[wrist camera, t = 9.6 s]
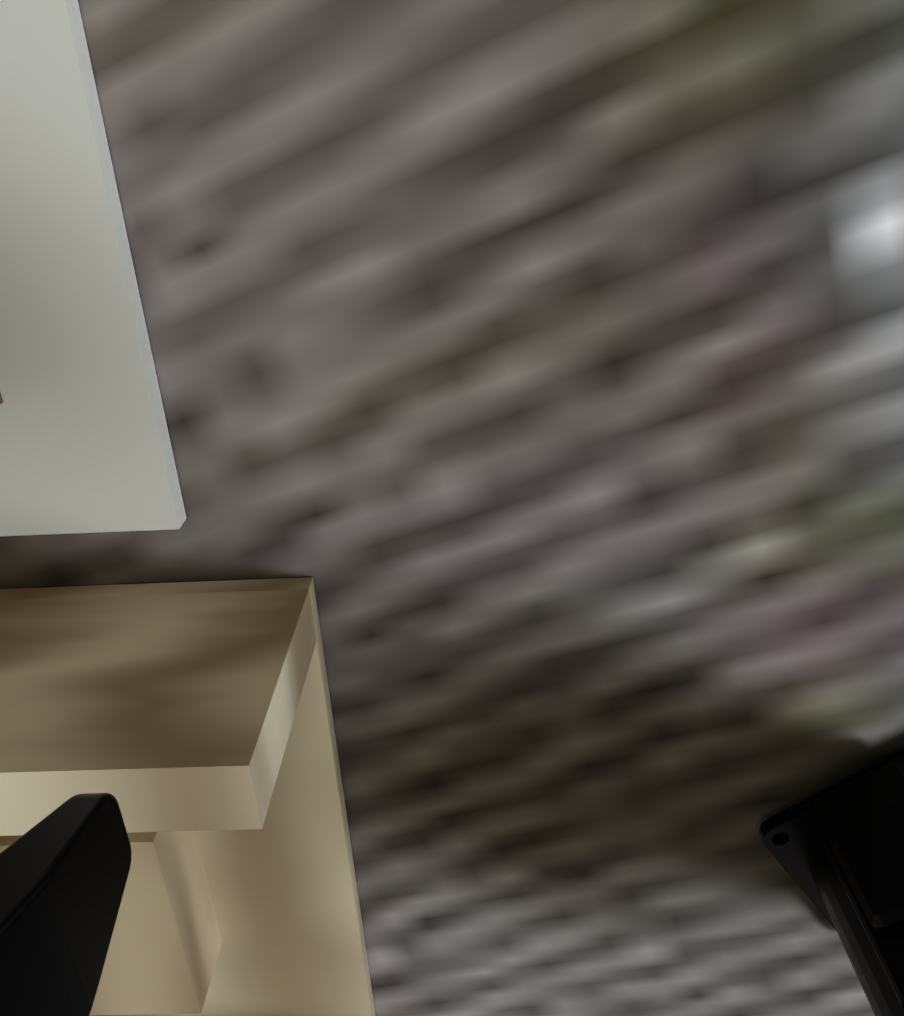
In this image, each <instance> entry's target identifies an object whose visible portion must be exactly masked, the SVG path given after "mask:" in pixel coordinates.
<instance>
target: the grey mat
mask: <svg viewBox="0 0 904 1016" xmlns="http://www.w3.org/2000/svg"><path fill="white" fill-rule="evenodd" d="M0 392H1V396H2V399H3V403H2V404H0V536H22V535H47V534H71V533H96V532H121V531H146V530H171V529H180V527H181V526H182V524H183V523H184V522H185V520H186V519H187V518H186V514H185V509H184V504H183V499H182V495H181V490H180V485H179V480H178V475H177V471H176V466H175V461H174V456H173V452H172V447H171V442H170V437H169V433H168V428H167V423H166V418H165V414H164V409H163V404H162V399H161V395H160V390H159V385H158V380H157V376H156V371H155V366H154V361H153V357H152V352H151V347H150V342H149V338H148V333H147V328H146V323H145V318H144V314H143V309H142V304H141V299H140V295H139V290H138V285H137V280H136V276H135V271H134V266H133V261H132V257H131V252H130V247H129V242H128V238H127V233H126V228H125V223H124V219H123V214H122V209H121V204H120V200H119V195H118V190H117V185H116V180H115V176H114V171H113V166H112V161H111V157H110V152H109V147H108V142H107V138H106V133H105V128H104V123H103V119H102V114H101V109H100V104H99V100H98V95H97V90H96V85H95V81H94V76H93V71H92V66H91V62H90V57H89V52H88V47H87V43H86V38H85V33H84V28H83V23H82V19H81V14H80V9H79V4H78V0H0Z"/></svg>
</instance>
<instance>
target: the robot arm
mask: <svg viewBox="0 0 904 1016" xmlns="http://www.w3.org/2000/svg"><path fill="white" fill-rule="evenodd" d="M759 832H760V834H761V837H762V839H763V842H764V844H765V846H766V847H767V848H768V850H769V851H770V852H771V853H772V854H773V856H774V857H775V858H776V859H777V860H778V862H779V863H780V864H781V865H782V866H783V867H784V869H785V870H786V871H787V872H788V873H789V875H790V876H791V877H792V878H793V879H794V881H795V882H796V883H797V884H798V885H799V886H800V888H801V889H802V890H803V891H804V892H805V894H806V895H807V896H808V897H809V898H810V900H811V901H812V902H813V903H814V904H815V905H816V907H817V908H818V909H819V910H820V911H821V913H822V914H823V915H824V916H825V917H826V918H827V920H828V921H829V922H830V923H831V924H832V926H833V927H834V928H835V929H836V931H837V933H838V935H839V937H840V939H841V942H842V944H843V946H844V948H845V950H846V953H847V955H848V957H849V959H850V961H851V964H852V966H853V968H854V970H855V972H856V975H857V977H858V979H859V981H860V983H861V986H862V988H863V990H864V992H865V994H866V997H867V999H868V1001H869V1003H870V1005H871V1008H872V1010H873V1012H874V1014H875V1016H904V750H903V751H901V752H899V753H897V754H895V755H893V756H892V757H890V758H888V759H886V760H884V761H882V762H880V763H878V764H876V765H874V766H872V767H870V768H868V769H866V770H864V771H862V772H860V773H858V774H856V775H854V776H852V777H850V778H848V779H846V780H844V781H842V782H840V783H838V784H836V785H834V786H832V787H830V788H828V789H826V790H824V791H822V792H820V793H818V794H816V795H814V796H812V797H810V798H808V799H806V800H804V801H802V802H800V803H798V804H796V805H794V806H792V807H790V808H788V809H786V810H784V811H782V812H780V813H778V814H776V815H774V816H772V817H770V818H768V819H767V820H765V821H764V822H763V823H762V824H761V826H760V830H759ZM777 833H780V834H777ZM775 834H777V835H775ZM131 856H132V852H131V845H130V841H129V837H128V834H127V831H126V827H125V824H124V821H123V817H122V814H121V810H120V807H119V804H118V801H117V799H116V798H115V797H114V796H113V795H112V794H109V793H85V794H77V795H75V796H73V797H71V798H70V799H68V800H67V801H65V802H64V803H63V804H62V805H60V806H59V807H58V808H57V809H55V810H54V811H53V812H52V813H50V814H49V815H48V816H47V817H45V818H44V819H43V820H41V821H40V822H39V823H38V824H36V825H35V826H34V827H33V828H31V829H30V830H29V831H28V832H26V833H25V834H24V835H23V836H21V837H20V838H19V839H17V840H16V841H15V842H14V843H12V844H11V845H10V846H9V847H7V848H6V849H5V850H4V851H2V852H1V853H0V1016H89V1015H90V1012H91V1009H92V1006H93V1003H94V999H95V996H96V993H97V989H98V986H99V982H100V979H101V975H102V971H103V967H104V964H105V960H106V956H107V953H108V949H109V945H110V941H111V938H112V934H113V930H114V926H115V923H116V919H117V915H118V912H119V908H120V904H121V900H122V897H123V893H124V889H125V886H126V882H127V878H128V874H129V871H130V866H131Z"/></svg>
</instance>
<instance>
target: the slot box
mask: <svg viewBox="0 0 904 1016" xmlns="http://www.w3.org/2000/svg"><path fill="white" fill-rule="evenodd" d="M85 793H109V794H112V795H113V796H114V797H115V798H116V799H117V801H118V804H119V807H120V810H121V814H122V817H123V821H124V824H125V827H126V831H127V834H128V837H129V841H130V845H131V852H132V856H131V866H130V871H129V874H128V878H127V882H126V886H125V889H124V893H123V897H122V900H121V904H120V908H119V912H118V915H117V919H116V923H115V926H114V930H113V934H112V938H111V941H110V945H109V949H108V953H107V956H106V960H105V964H104V967H103V971H102V975H101V979H100V982H99V986H98V989H97V993H96V996H95V999H94V1003H93V1006H92V1009H91V1012H90V1015H89V1016H375V1009H374V1002H373V995H372V988H371V981H370V974H369V967H368V960H367V953H366V946H365V939H364V932H363V925H362V918H361V911H360V904H359V897H358V890H357V883H356V876H355V869H354V862H353V855H352V848H351V841H350V834H349V827H348V820H347V813H346V806H345V799H344V792H343V785H342V778H341V771H340V764H339V757H338V750H337V743H336V736H335V729H334V722H333V715H332V708H331V701H330V694H329V687H328V680H327V673H326V666H325V659H324V652H323V645H322V638H321V631H320V624H319V617H318V610H317V603H316V596H315V589H314V582H313V577H307V578H280V579H254V580H227V581H201V582H174V583H148V584H121V585H94V586H68V587H41V588H15V589H0V853H1V852H2V851H4V850H5V849H6V848H7V847H9V846H10V845H11V844H12V843H14V842H15V841H16V840H17V839H19V838H20V837H21V836H23V835H24V834H25V833H26V832H28V831H29V830H30V829H31V828H33V827H34V826H35V825H36V824H38V823H39V822H40V821H41V820H43V819H44V818H45V817H47V816H48V815H49V814H50V813H52V812H53V811H54V810H55V809H57V808H58V807H59V806H60V805H62V804H63V803H64V802H65V801H67V800H68V799H70V798H71V797H73V796H75V795H77V794H85Z"/></svg>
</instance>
